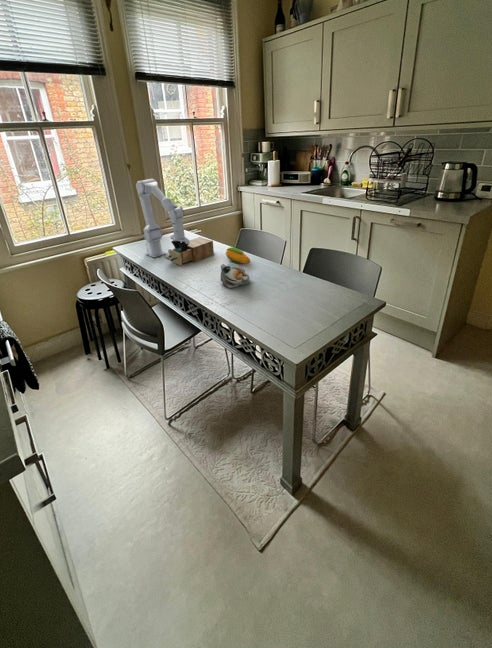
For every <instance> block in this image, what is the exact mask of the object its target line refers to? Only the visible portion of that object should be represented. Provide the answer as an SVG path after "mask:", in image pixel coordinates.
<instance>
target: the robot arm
mask: <svg viewBox="0 0 492 648" xmlns="http://www.w3.org/2000/svg"><path fill="white" fill-rule="evenodd" d="M135 188H136V192H137V196H138V198H139V202H140V206H141V210H142V214H143V218H144V221H145V225H146V226H145V227H144V228H143V229H142V230H143V238H144V240H145V247H146V253H145V255H147V256H149V257H151V258H154V259H155V258H157V257H158V258H159V257H160V256H163V255H166V252H163V248H162V241H161V240H162V238H163V233H164V232H163V231H162V229H161V226H160V225H159V224H158V223H156V219H155V215H154V211H153V207H152V202H151V199H150V196H151V194H152V195H153V196H154V197H156V198H157V199H158V200H159V201H160V205H161V206H162V207H163V209H165V211H166V212H167V213H168V217H169V219H170V222H171V223H172V231H173V234H171V235H170V236H169V237H170V240H171V242H170V243H171V244H172V246H173V247H174V248H175V249H176V248H179V247H180V248H181V252H184V251H186V250H187V246H188V244H189V243H190V242H189V241H190V239H189V238H187V237H186V236H185V228H184V226H185V225H184V217H185V210H184V208H183V207H182V206H179V205H177V204H176V203H175V202H174V201H173V200H172V199H171V197H166V195H165V194H164V193H163V191H162V190H161V189H160V188H159V186H158V182H157V181H156V180H155V179H154V178H148V179H142V180H138V181H137V182H136V184H135Z"/></svg>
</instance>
